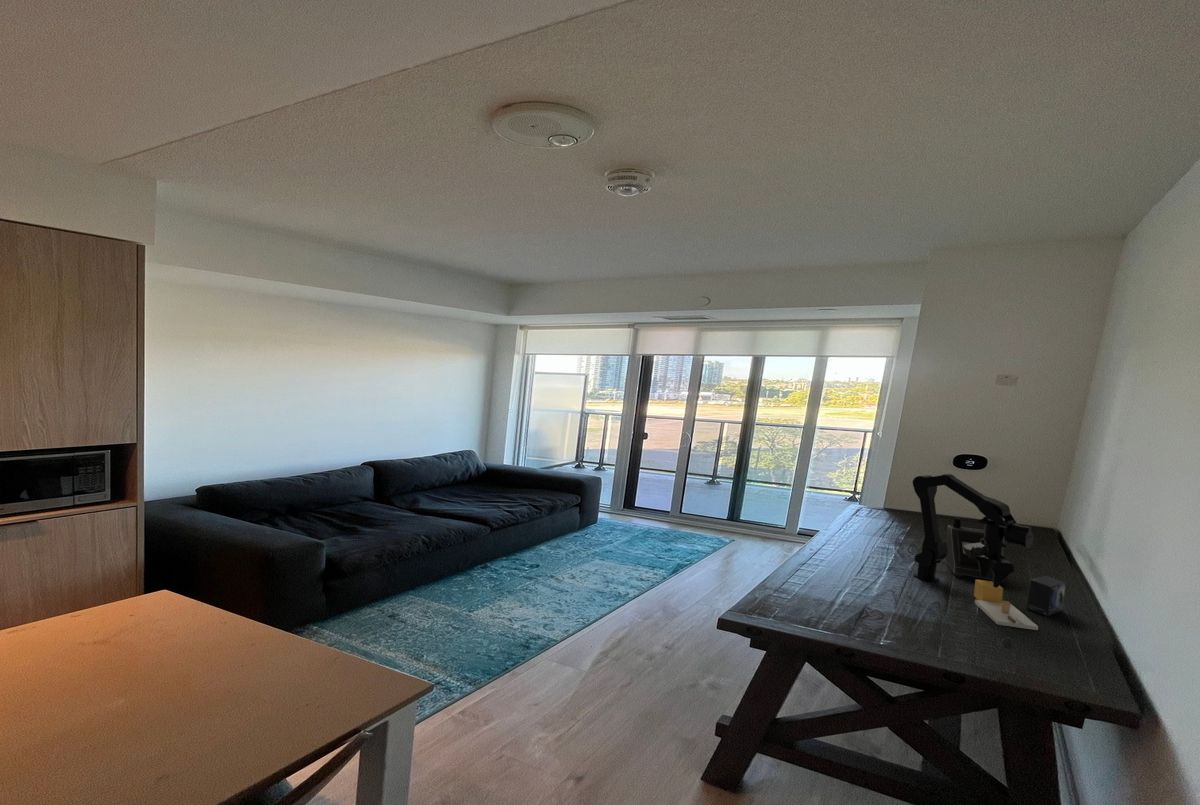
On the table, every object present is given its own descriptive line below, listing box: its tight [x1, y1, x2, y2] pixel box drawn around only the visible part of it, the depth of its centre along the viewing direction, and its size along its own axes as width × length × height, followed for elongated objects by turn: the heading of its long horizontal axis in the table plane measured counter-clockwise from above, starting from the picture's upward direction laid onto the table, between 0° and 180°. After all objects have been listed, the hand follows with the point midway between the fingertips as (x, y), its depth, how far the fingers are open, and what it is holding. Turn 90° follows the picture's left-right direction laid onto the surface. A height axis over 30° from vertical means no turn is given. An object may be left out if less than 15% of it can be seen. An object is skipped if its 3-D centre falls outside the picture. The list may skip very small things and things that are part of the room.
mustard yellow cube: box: [973, 579, 1004, 603], centre depth 186 cm, size 6×6×6 cm
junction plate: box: [974, 599, 1039, 631], centre depth 175 cm, size 16×11×5 cm, turn 166°
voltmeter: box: [944, 517, 1005, 583], centre depth 212 cm, size 16×16×20 cm
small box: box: [1025, 575, 1067, 617], centre depth 181 cm, size 11×6×10 cm, turn 117°
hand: (988, 582), depth 186 cm, fingers open, 9 cm apart
